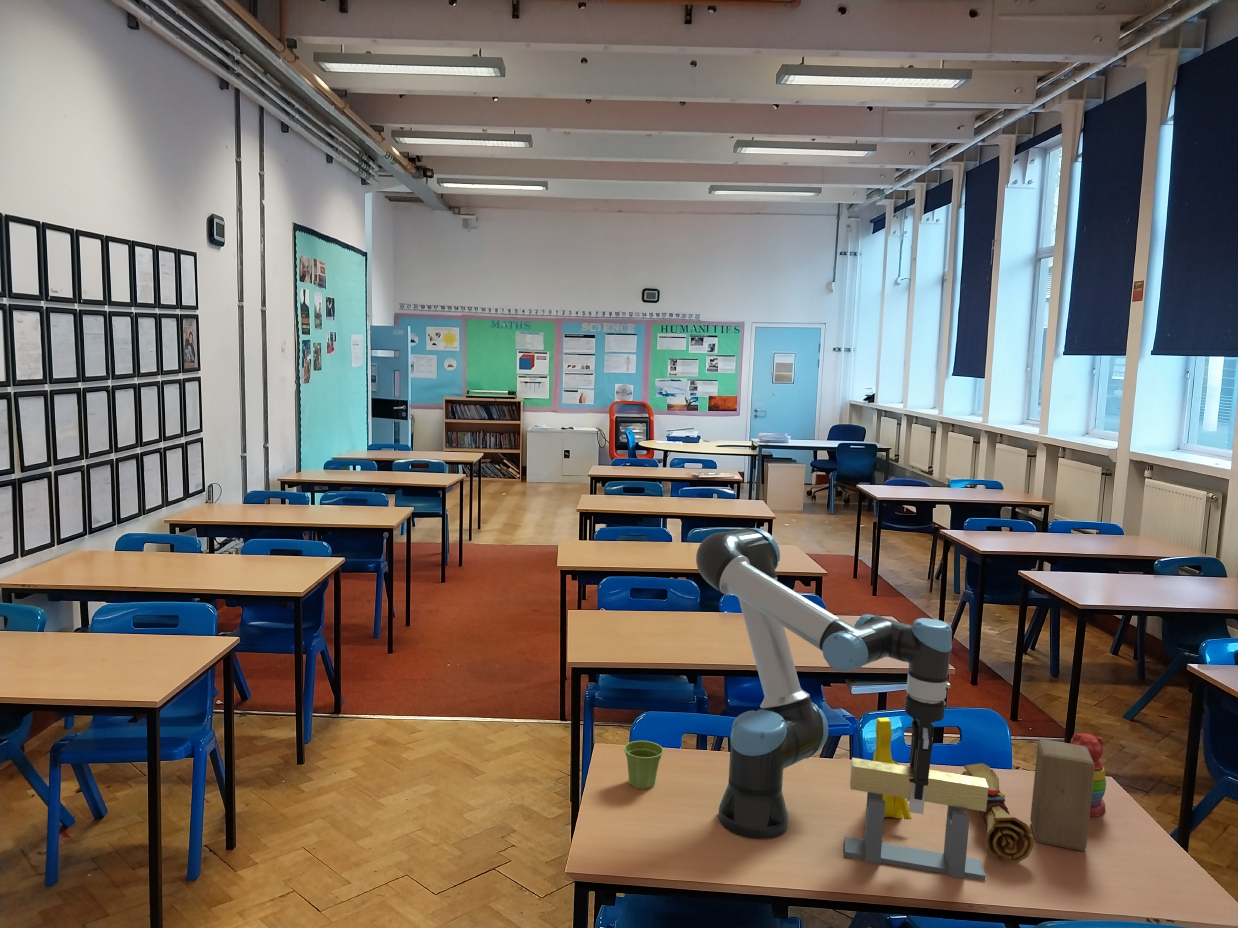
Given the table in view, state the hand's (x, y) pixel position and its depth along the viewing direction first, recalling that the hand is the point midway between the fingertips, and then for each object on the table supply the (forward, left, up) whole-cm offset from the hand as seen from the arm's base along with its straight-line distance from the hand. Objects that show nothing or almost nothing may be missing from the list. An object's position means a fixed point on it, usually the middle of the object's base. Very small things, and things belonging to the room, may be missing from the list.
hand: (914, 806), depth 174 cm
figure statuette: (-4, +19, -12) cm, 22 cm away
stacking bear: (+41, +37, -12) cm, 57 cm away
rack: (0, 0, -11) cm, 11 cm away
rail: (0, 0, +2) cm, 2 cm away
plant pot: (-60, +14, -12) cm, 62 cm away
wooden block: (+32, +20, -12) cm, 40 cm away
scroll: (+18, +18, -12) cm, 28 cm away
